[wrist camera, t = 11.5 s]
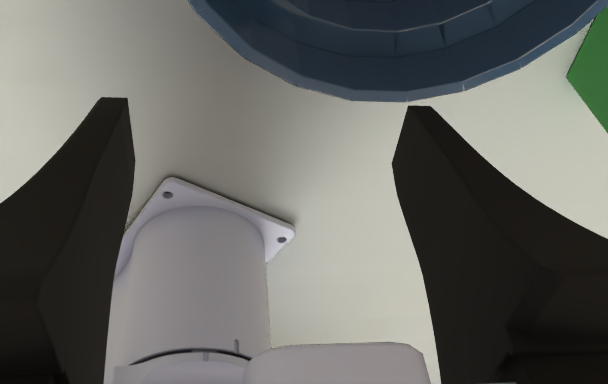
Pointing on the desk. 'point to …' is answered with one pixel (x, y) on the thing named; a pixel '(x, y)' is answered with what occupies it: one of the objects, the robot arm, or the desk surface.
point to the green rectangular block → (593, 69)
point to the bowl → (394, 41)
